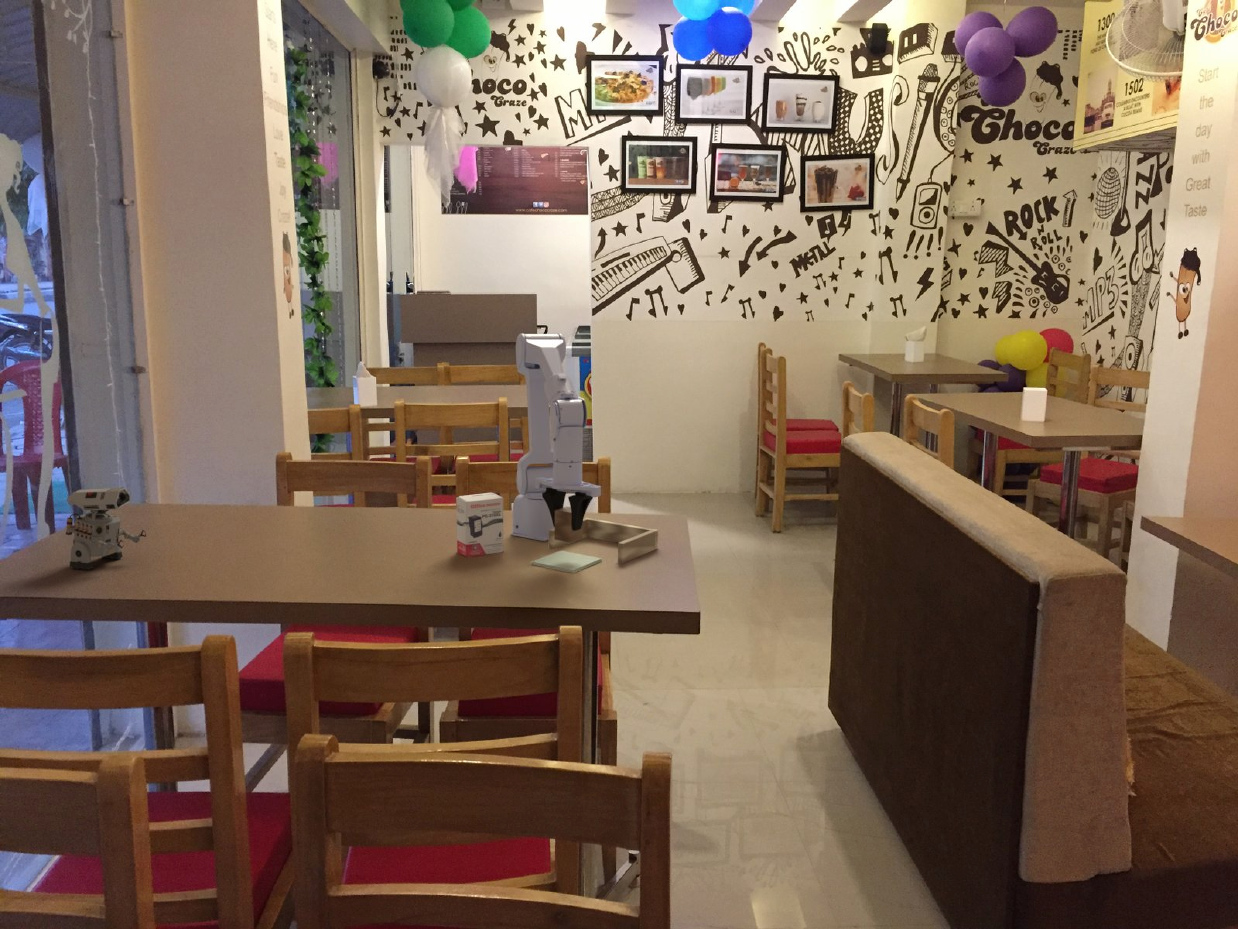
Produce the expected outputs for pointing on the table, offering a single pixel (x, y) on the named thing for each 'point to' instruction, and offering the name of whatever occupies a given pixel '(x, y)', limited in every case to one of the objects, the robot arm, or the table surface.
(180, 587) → the table surface
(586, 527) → the corral
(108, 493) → the figurine
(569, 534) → the walnut block
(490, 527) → the ink box
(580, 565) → the pad
